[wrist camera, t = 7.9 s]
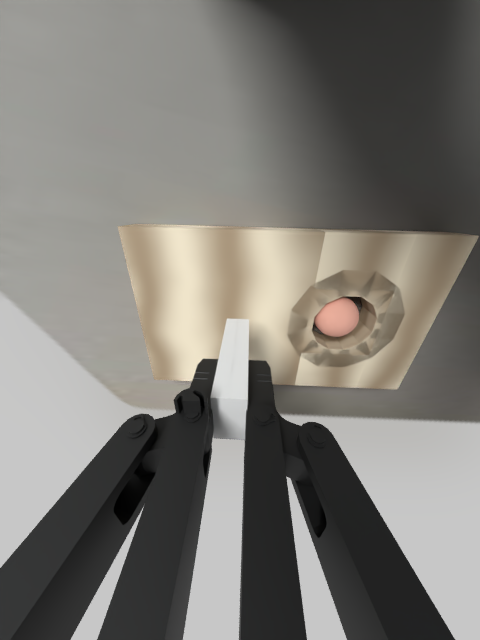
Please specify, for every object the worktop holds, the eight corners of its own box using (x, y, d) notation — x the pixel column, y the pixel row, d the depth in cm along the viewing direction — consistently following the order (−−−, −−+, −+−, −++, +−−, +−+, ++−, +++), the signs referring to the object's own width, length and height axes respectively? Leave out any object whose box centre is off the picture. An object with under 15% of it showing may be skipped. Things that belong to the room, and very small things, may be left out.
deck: (163, 363, 23) (154, 379, 21) (135, 224, 16) (117, 226, 14) (382, 371, 22) (397, 389, 20) (447, 232, 16) (479, 235, 14)
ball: (343, 288, 19) (339, 285, 16) (368, 320, 18) (369, 323, 15) (310, 310, 20) (300, 311, 17) (332, 341, 19) (325, 347, 16)
